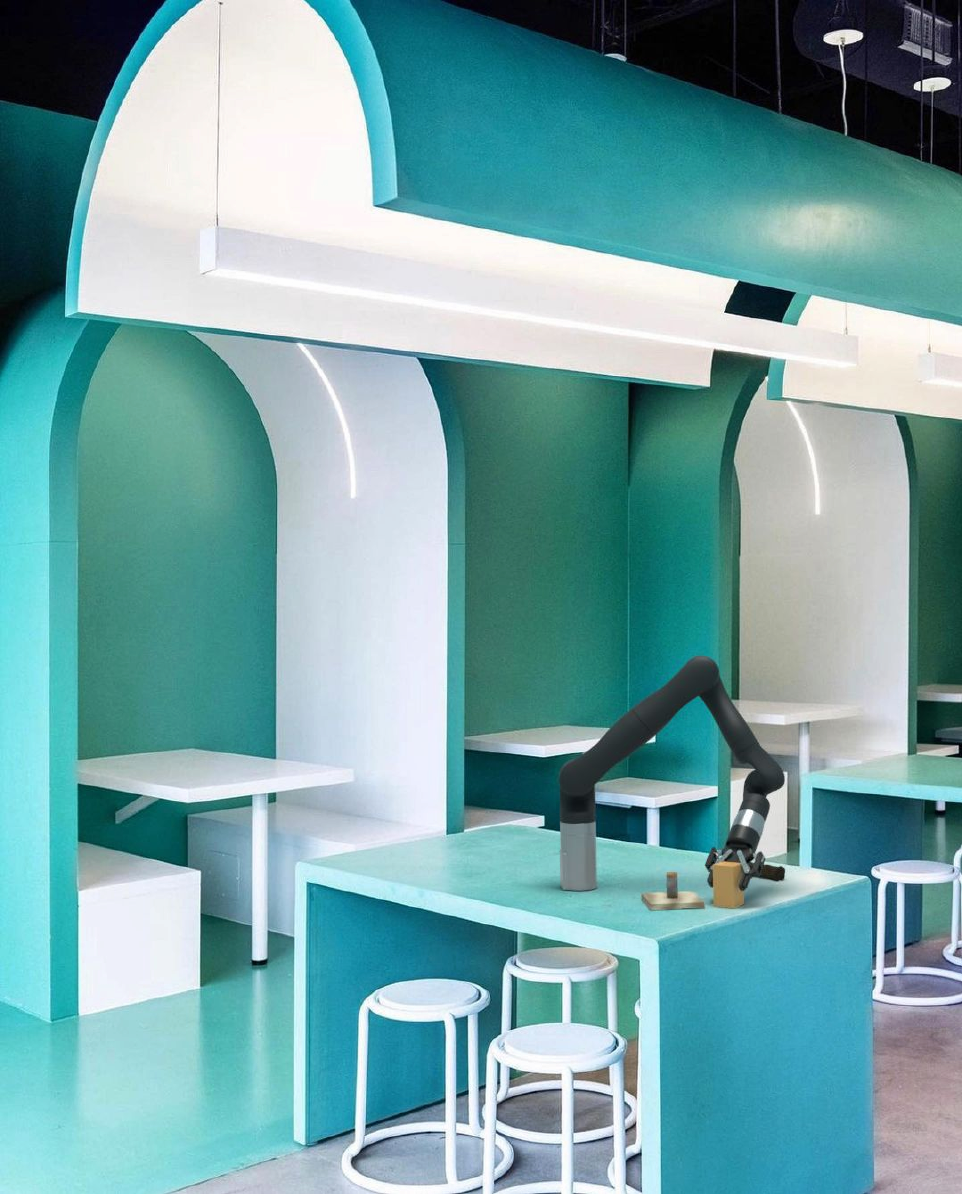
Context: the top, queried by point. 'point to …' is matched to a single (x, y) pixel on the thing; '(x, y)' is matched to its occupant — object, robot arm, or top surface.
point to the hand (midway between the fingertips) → (725, 887)
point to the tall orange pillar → (727, 884)
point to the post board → (672, 903)
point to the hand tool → (770, 871)
